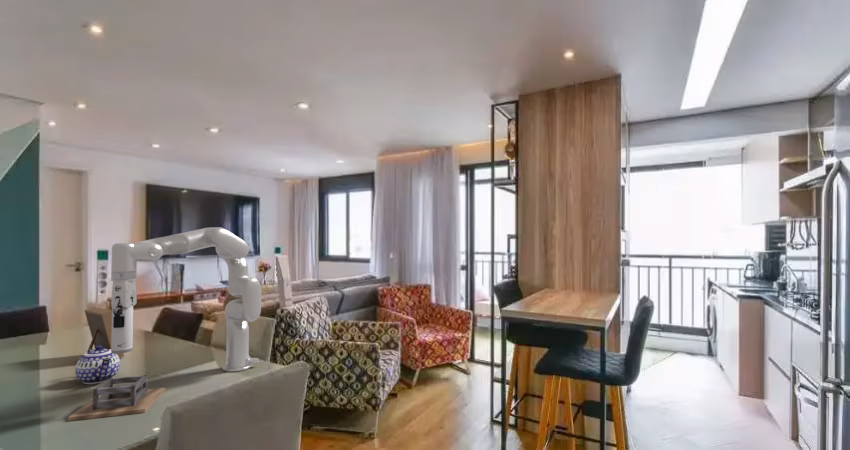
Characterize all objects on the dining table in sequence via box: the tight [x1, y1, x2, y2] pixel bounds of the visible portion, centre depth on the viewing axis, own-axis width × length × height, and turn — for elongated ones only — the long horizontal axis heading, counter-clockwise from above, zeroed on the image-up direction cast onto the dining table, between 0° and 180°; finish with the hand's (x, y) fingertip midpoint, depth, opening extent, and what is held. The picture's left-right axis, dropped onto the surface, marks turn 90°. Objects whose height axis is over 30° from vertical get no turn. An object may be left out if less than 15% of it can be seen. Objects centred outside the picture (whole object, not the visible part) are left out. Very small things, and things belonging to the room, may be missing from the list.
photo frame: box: [84, 306, 125, 359], centre depth 208 cm, size 15×22×25 cm
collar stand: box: [67, 374, 167, 422], centre depth 148 cm, size 22×22×8 cm
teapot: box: [74, 345, 121, 385], centre depth 175 cm, size 25×15×15 cm, turn 51°
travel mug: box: [111, 297, 134, 354], centre depth 149 cm, size 6×7×20 cm
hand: (123, 325), depth 149 cm, fingers closed on travel mug, 6 cm apart
